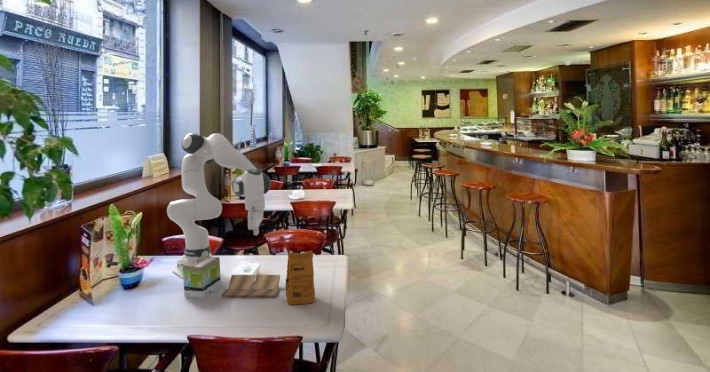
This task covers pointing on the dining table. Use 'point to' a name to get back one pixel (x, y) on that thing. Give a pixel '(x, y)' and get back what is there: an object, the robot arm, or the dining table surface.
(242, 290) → the floor strip
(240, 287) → the plank
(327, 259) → the dining table surface
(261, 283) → the plank
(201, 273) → the tea box
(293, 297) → the coffee package
